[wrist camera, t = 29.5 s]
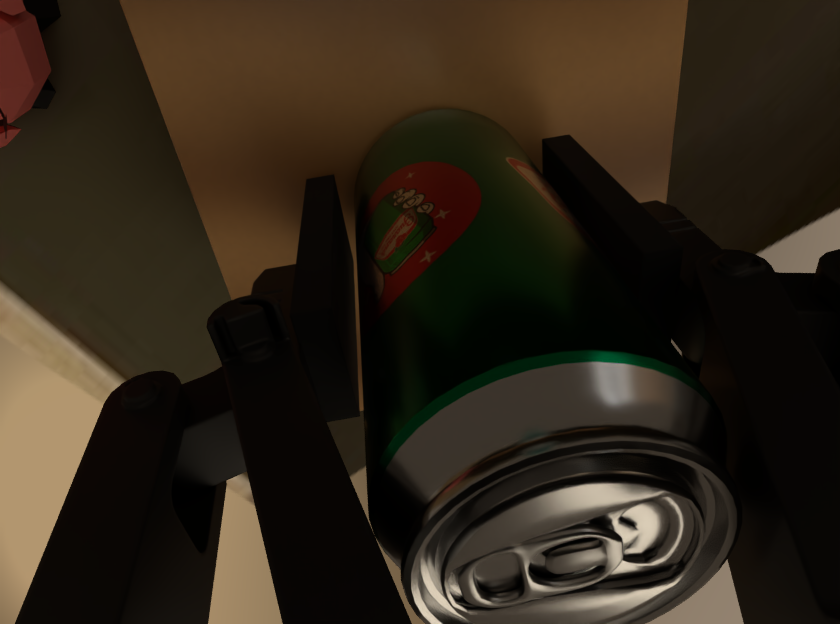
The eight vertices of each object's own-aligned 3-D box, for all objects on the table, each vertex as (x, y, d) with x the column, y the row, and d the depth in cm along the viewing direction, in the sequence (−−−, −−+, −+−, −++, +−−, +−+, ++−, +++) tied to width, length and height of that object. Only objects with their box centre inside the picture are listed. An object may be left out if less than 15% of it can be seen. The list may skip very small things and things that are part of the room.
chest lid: (76, -145, 13) (62, -148, 12) (697, -244, 13) (716, -252, 13) (280, 410, 22) (278, 425, 22) (640, 347, 23) (649, 360, 22)
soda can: (535, 244, 19) (756, 620, 9) (379, 284, 19) (422, 697, 9) (513, 80, 16) (804, 365, 6) (330, 129, 16) (312, 486, 6)
